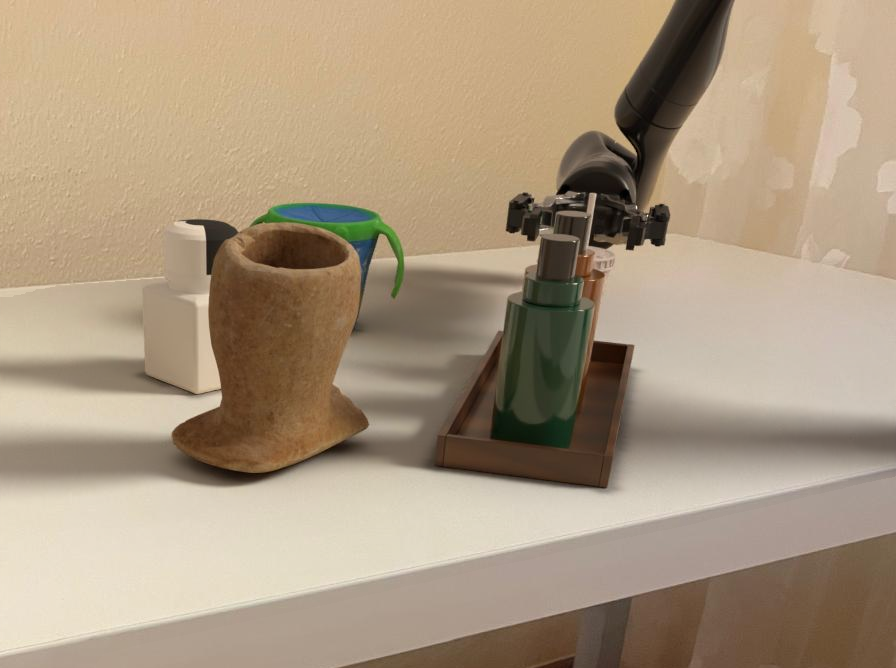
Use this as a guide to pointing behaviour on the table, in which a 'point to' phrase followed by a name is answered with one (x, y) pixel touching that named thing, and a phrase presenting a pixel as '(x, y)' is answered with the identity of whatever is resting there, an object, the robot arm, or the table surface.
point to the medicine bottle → (184, 307)
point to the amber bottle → (581, 273)
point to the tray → (582, 464)
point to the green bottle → (543, 350)
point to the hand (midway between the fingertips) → (581, 232)
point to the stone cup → (278, 349)
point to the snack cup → (343, 231)
